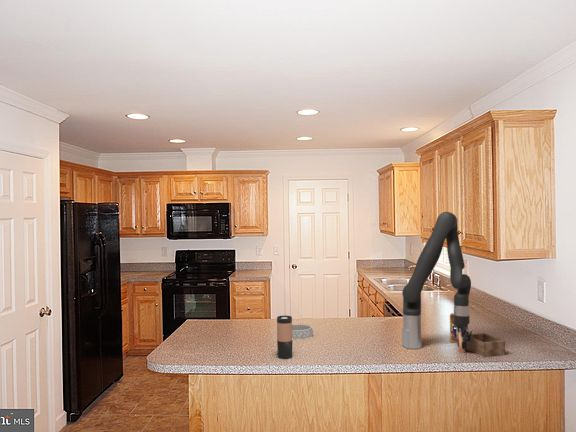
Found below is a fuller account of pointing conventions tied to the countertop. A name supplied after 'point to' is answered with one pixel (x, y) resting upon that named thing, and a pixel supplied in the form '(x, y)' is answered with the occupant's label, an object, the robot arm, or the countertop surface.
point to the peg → (461, 345)
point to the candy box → (452, 337)
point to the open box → (486, 345)
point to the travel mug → (284, 337)
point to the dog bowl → (301, 331)
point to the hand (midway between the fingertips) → (462, 347)
